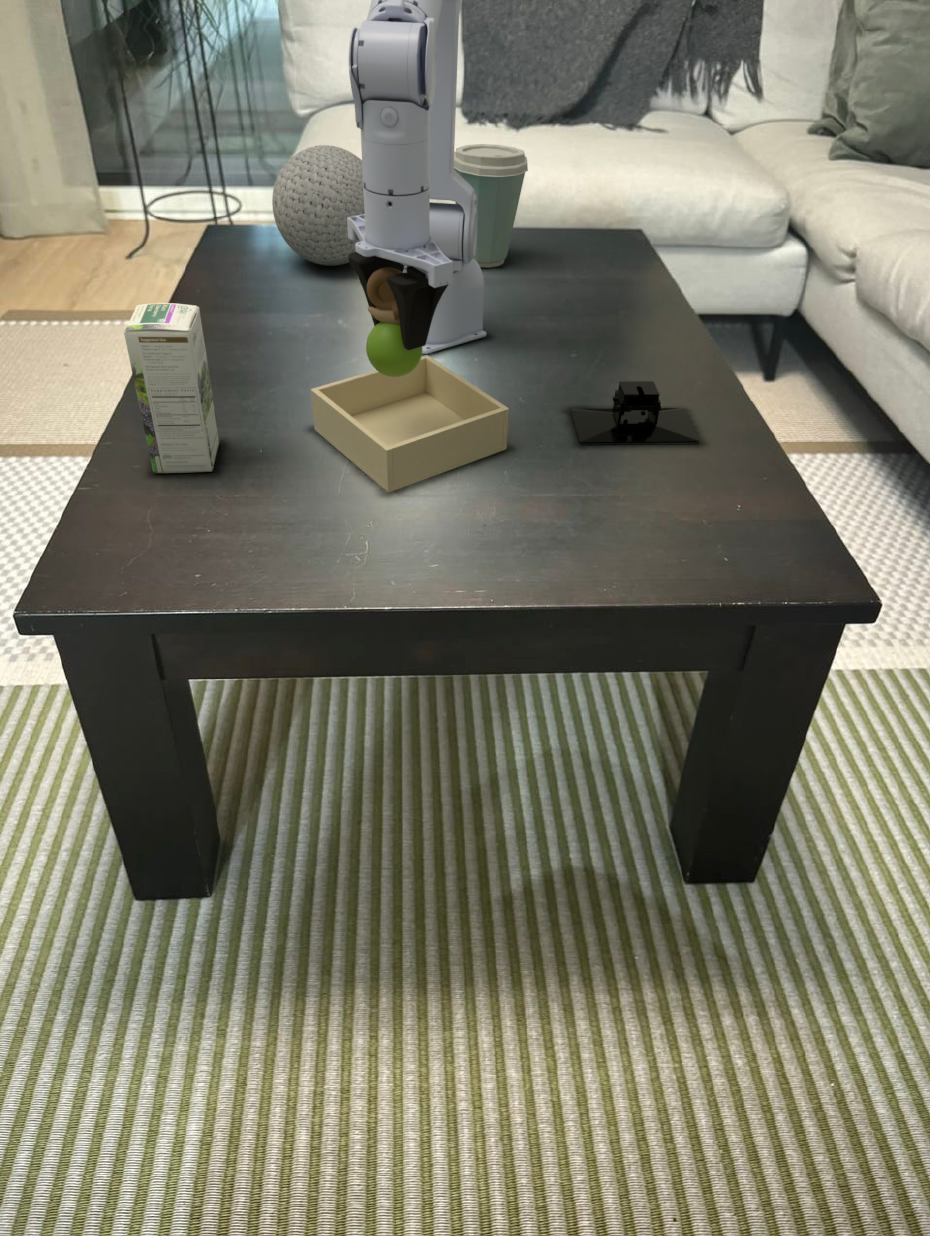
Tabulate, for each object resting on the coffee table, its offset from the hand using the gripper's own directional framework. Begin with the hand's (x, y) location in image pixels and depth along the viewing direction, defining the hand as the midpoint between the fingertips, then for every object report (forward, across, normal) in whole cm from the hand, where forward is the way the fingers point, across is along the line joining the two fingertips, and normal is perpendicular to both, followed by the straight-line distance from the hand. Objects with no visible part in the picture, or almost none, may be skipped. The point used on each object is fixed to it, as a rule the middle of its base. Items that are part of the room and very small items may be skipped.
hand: (399, 336), depth 88 cm
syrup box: (+11, -7, -20) cm, 24 cm away
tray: (+10, +2, 0) cm, 11 cm away
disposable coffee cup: (+10, -34, +37) cm, 52 cm away
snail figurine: (+4, 0, 0) cm, 4 cm away
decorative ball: (+10, -45, +18) cm, 50 cm away
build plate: (+11, +13, +21) cm, 27 cm away
